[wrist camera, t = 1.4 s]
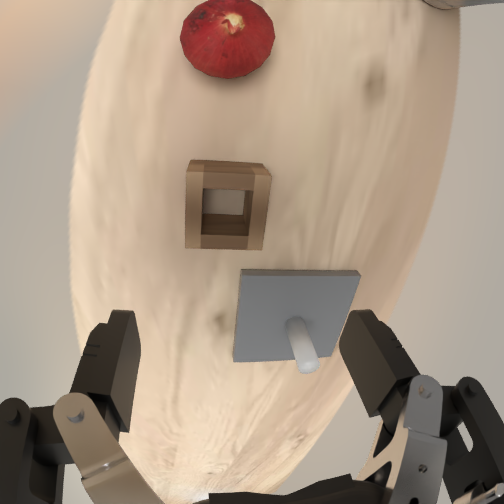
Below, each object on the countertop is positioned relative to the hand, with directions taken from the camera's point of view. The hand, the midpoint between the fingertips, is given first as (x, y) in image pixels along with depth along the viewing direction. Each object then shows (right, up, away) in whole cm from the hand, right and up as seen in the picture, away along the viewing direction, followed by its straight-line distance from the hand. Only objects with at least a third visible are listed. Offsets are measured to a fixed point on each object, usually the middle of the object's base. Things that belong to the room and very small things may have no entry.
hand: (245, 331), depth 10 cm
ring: (-2, +7, +13) cm, 15 cm away
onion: (-2, +18, +7) cm, 20 cm away
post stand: (+5, -4, +20) cm, 21 cm away
